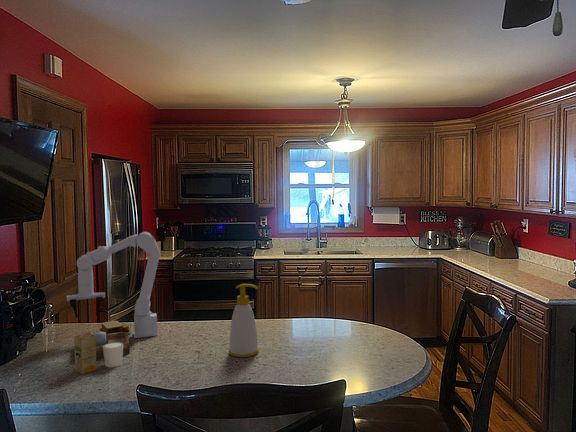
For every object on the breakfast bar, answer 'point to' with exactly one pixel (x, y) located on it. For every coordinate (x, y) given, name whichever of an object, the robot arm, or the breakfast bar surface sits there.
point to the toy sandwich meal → (114, 327)
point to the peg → (100, 338)
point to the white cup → (113, 354)
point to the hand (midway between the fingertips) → (87, 316)
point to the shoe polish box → (85, 353)
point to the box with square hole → (115, 337)
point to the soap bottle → (243, 327)
